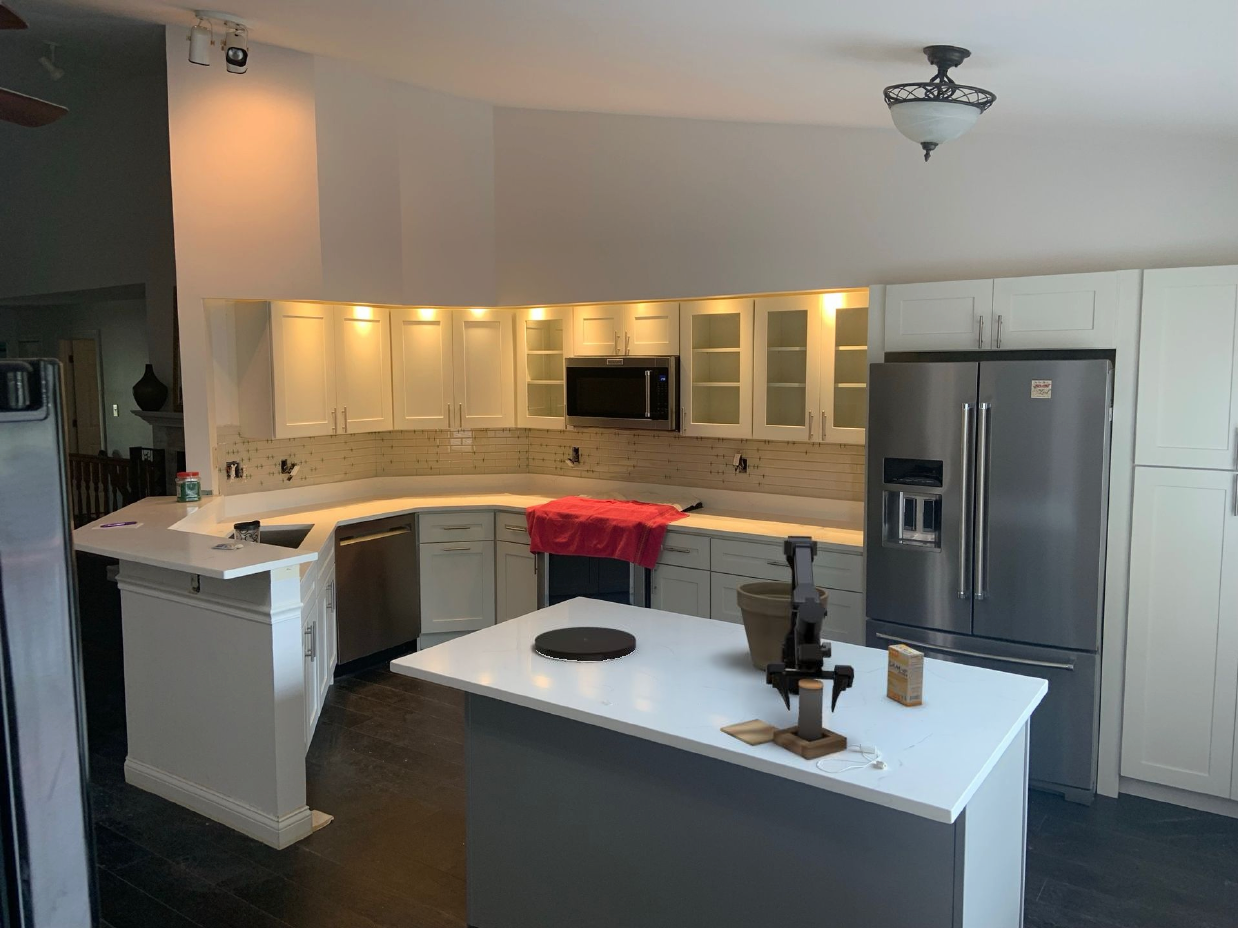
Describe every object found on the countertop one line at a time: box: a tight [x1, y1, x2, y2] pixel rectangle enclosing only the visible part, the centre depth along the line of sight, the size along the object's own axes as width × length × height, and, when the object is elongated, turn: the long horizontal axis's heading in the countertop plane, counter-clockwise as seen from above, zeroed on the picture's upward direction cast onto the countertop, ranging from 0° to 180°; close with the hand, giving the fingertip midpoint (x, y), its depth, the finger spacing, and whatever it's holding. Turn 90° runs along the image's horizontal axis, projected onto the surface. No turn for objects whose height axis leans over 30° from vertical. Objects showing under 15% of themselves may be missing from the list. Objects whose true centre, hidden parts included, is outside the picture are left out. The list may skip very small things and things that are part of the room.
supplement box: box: [886, 644, 925, 707], centre depth 230 cm, size 8×5×13 cm, turn 21°
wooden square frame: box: [772, 724, 848, 761], centre depth 201 cm, size 11×11×2 cm
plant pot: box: [736, 580, 829, 671], centre depth 259 cm, size 25×25×22 cm
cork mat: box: [719, 718, 781, 747], centre depth 208 cm, size 11×11×1 cm
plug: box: [797, 679, 825, 742], centre depth 201 cm, size 5×5×14 cm
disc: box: [534, 626, 637, 661], centre depth 276 cm, size 30×30×3 cm
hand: (810, 710), depth 199 cm, fingers open, 9 cm apart
